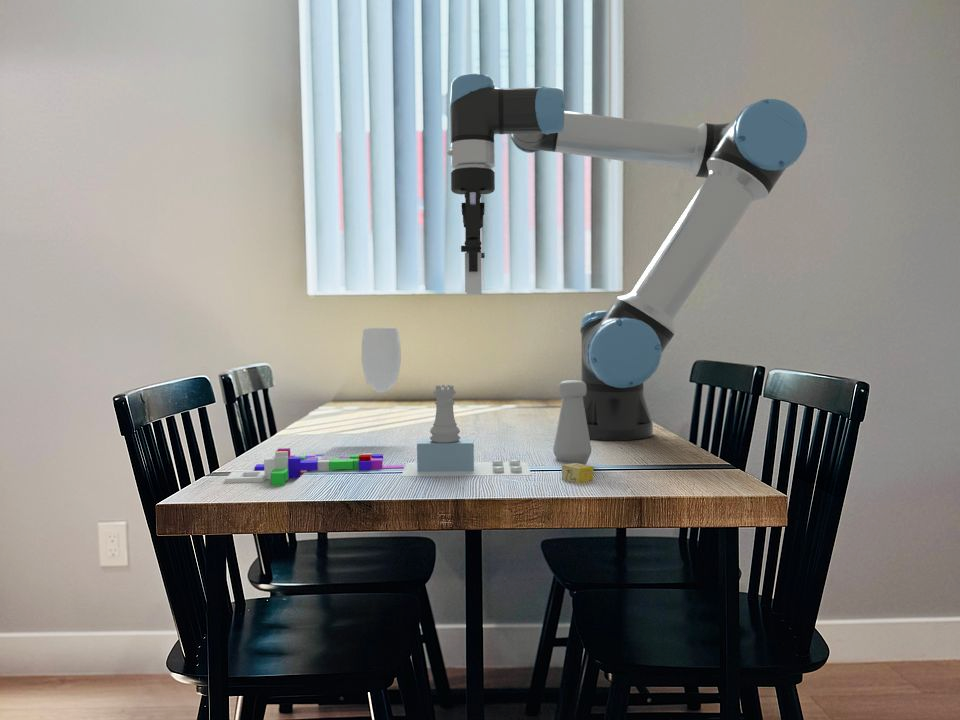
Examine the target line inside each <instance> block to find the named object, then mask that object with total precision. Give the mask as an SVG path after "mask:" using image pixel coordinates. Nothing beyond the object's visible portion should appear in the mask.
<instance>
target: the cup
mask: <svg viewBox="0 0 960 720" xmlns="http://www.w3.org/2000/svg"><path fill="white" fill-rule="evenodd" d="M401 362H402V351H401V338H400V335H399V328H398V327H367V328H366V327H364V328H363V331H362V339H361V363H362V364H361V365H362V370H363V375H364V379H365V381H366V383H367V385H370V387H371V388H372V389H373V390H374V391H375V392H378V393H380V394H383V393H385V392H388V391H389V390H390V389H391V388H392V387H393V385H395V384H396V383H397V381H398V378H399V374H400V371H401V370H400V369H401Z"/></svg>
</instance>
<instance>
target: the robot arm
mask: <svg viewBox="0 0 960 720" xmlns="http://www.w3.org/2000/svg"><path fill="white" fill-rule="evenodd" d="M449 99H450V102H449V115H450V116H449V118H450V120H449V122H450V147H451V148H450V149H448V150H447V151H446V152H447V156H450V157H451V158H450V167H451V168H452V169H453V170H452V171H451V172H450V189H451V190H450V191H451V192H452V193H453V194H455V195H462V196H463V195H464V198H465V199H464V200H465V202H461V214H462V222H463V223H462V224H463V228H465V232H464V233H465V234H464V235H465V236H464V237H465V241H464V245H461V246H460V252H461V253H464V288H465V289H464V290H465V291H464V293H466V295H482V290H483V289H482V287H483V286H482V284H483V283H482V282H483V281H482V280H483V279H482V277H483V276H482V275H483V274H482V259H485V257H486V256H485V252H482V241H481V229H482V228H483V227H484V215H485V202H481V198H482V195H489V194H492V193H494V192H495V189H496V188H495V187H496V185H495V184H496V183H495V182H496V180H495V178H496V177H495V175H496V173H495V171H494V170H493V168H494V167H496V159H495V158H496V152H495V151H496V145H495V144H496V143H495V135H509V136H510V139H511V142H512V143H513V144H514V146H515V147H516V148H517V149H518V150H520V151H521V152H523V153H530V154H533V153H537V152H540V151H542V152H543V151H544V152H552V153H553V152H554V153H559V154H560V153H561V154H569V155H577V156H585V157H591V158H597V159H598V158H599V159H607V160H613V161H614V160H615V161H621V162H626V163H627V162H628V163H635V164H642V165H650V166H657V167H658V166H660V167H666V168H673V169H678V170H679V169H680V170H687V171H689V173H690V174H691V176H693V177H697V178H698V177H699V178H705V180H704V181H703V183H702V185H701V186H700V187H699V189H698V190H697V192H696V193H695V195H694V196H693V198H692V200H691V201H690V202H689V204H688V205H687V207H686V209H685V210H684V212H682V214H681V216H680V218H679V219H678V220H677V222H676V223H675V225H674V227H673V228H672V230H670V232H669V234H668V236H667V237H666V239H664V241H663V243H662V244H661V246H660V248H659V249H658V250H657V252H656V254H655V256H653V258H652V260H651V261H650V263H649V264H648V265H647V267H646V269H645V271H644V272H643V273H642V275H641V276H640V278H639V280H637V282H636V284H635V285H634V287H633V288H632V290H631V291H630V292H629V293H626V294H623V295H619V296H618V295H617V297H615V299H614V301H613V302H612V304H611V305H610V307H609V308H608V310H598V311H592V312H589V313H585V315H584V316H583V317H582V319H581V326H580V330H579V331H580V333H581V381H583V382H584V383H585V384H586V388H587V391H586V395H585V396H583V402H584V408H585V414H586V420H587V426H588V432H589V438H590V439H592V440H602V441H603V440H604V441H605V440H607V441H627V440H629V441H630V440H639V439H640V440H641V439H645V438H650V437H652V436H653V435H654V431H653V430H654V424H653V420H652V417H651V414H650V411H649V408H648V405H647V402H646V399H645V395H644V394H645V393H644V383H645V382H647V381H648V380H649V379H650V378H651V377H652V376H653V375H654V374H655V372H656V371H657V369H658V367H659V365H660V363H661V358H662V354H663V352H664V351H665V350H666V348H667V346H668V345H669V343H670V341H672V339H673V337H674V336H675V334H676V331H675V326H674V325H675V324H674V320H675V318H676V316H677V314H678V313H679V312H680V311H681V309H682V307H683V306H684V305H685V303H686V301H687V300H688V299H689V297H690V296H691V294H692V292H693V291H694V290H695V288H696V287H697V285H698V283H699V282H700V281H701V279H702V278H703V276H704V275H705V273H706V272H707V270H708V268H709V267H710V266H711V264H712V263H713V261H714V260H715V258H716V256H718V254H719V252H720V251H721V249H722V248H723V246H724V245H725V243H726V241H727V240H728V239H729V237H730V236H731V234H732V233H733V232H734V230H735V228H736V227H737V225H738V224H739V222H740V221H741V219H742V218H743V216H744V215H745V213H746V212H747V211H748V209H749V207H750V206H751V205H752V203H753V202H755V201H758V200H762V199H765V198H767V197H768V196H769V194H770V193H771V191H772V190H773V188H774V187H775V185H777V182H778V181H779V179H780V178H781V176H782V175H783V174H784V171H785V170H786V169H787V168H789V167H790V166H793V165H794V163H796V162H797V161H798V160H799V158H800V157H801V155H802V154H803V152H804V150H805V148H806V145H807V141H808V130H807V125H806V121H805V119H804V118H803V115H802V114H801V113H800V111H799V110H798V109H797V108H796V107H795V106H793V105H792V104H790V103H789V102H786V101H784V100H782V99H777V98H767V99H761V100H758V101H756V102H754V103H750V104H749V105H748V106H746V107H745V108H744V109H742V110H741V111H740V112H739V114H738V115H737V116H736V117H735V118H734V119H732V120H731V121H730V122H726V123H719V124H717V123H706V122H702V123H701V124H699V125H698V126H696V127H692V126H686V125H677V124H676V125H675V124H669V123H661V122H654V121H653V122H652V121H647V120H645V121H644V120H638V119H632V118H631V119H630V118H625V117H624V118H623V117H622V118H621V117H616V116H615V117H614V116H607V115H606V116H605V115H598V114H591V113H583V112H576V111H568V110H565V93H564V91H563V89H562V88H560V87H550V86H549V87H547V86H540V87H539V86H538V87H516V88H515V87H513V88H512V87H511V88H499V87H496V86H495V83H494V78H492V77H491V76H489V75H488V74H482V73H481V74H478V73H466V74H465V73H464V74H460V75H458V76H457V77H455V78H454V79H453V80H452V82H451V85H450V98H449Z"/></svg>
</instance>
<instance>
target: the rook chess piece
mask: <svg viewBox="0 0 960 720" xmlns="http://www.w3.org/2000/svg"><path fill="white" fill-rule="evenodd" d="M456 394H457V392H456V391H455V389H454V385H451V384H448V385H447V386H446V385H445V384H442V385H440V384H439V385H435V389H434V391H433V395H434V396H435V398H436V401H435V402H434V404H435V405H436V408H435V409H436V410H435V418H434V421H433V424H432V425H433V426H432V427H431V428H430V431H429V433H430V434H431V436H430V437H429V439H431V441H432V442H434V443H455V442H458V441H459V439H461V437H460V435H459V434H460V432H461V430H460V428H459V427H458V426H457V425H458V423H457V422H456V420H455V414H454V404H455V401H454V396H455V395H456Z"/></svg>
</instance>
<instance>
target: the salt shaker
mask: <svg viewBox="0 0 960 720" xmlns="http://www.w3.org/2000/svg"><path fill="white" fill-rule="evenodd" d="M557 391H558V392H557V394H558V395H559V396H560V397H562V399H561V405H560V409H559V417H558V422H557V427H556V433H555V438H554V443H553V449H552V451H553V454H554V456H555V459H556V460H557V461H560V462H566V463H567V462H568V463H579V462H580V464H583V465H587V464H588V461H589V458H590V456H591V454H592V445H591V440H590V438H589V432H588V426H587V420H586V414H585V408H584V402H583V396H585V395H586V391H587V388H586V384H585V383H584V382H583V381H582V380H575V379H574V380H573V379H570V380H569V379H568V380H562V381H560V383H558V387H557Z"/></svg>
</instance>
